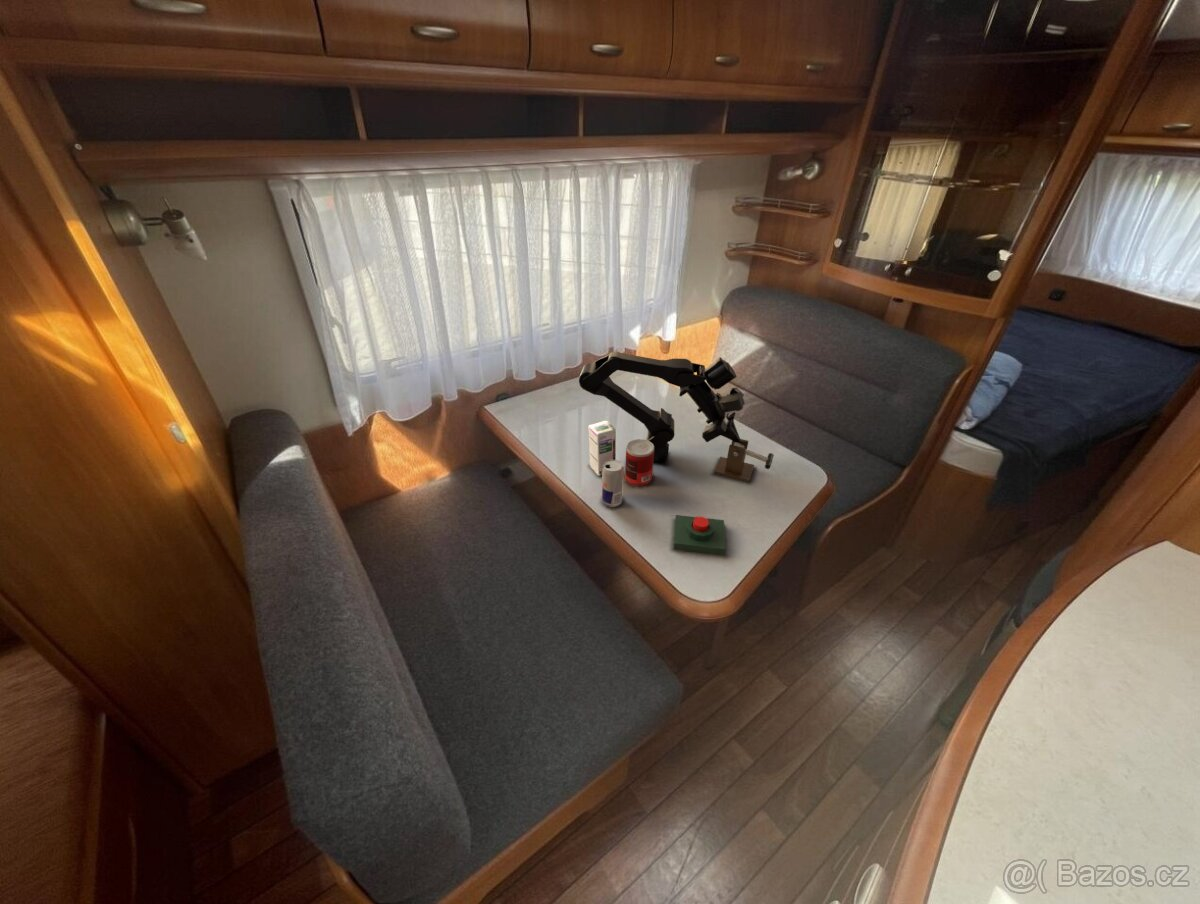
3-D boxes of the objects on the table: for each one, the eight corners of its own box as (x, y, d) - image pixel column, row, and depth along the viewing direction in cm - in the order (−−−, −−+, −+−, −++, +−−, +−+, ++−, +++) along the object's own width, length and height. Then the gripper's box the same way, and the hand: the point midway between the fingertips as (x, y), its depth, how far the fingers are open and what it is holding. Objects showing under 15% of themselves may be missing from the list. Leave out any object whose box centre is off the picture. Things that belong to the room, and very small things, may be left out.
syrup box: (598, 476, 137) (598, 434, 129) (589, 465, 142) (588, 424, 133) (615, 471, 140) (616, 429, 131) (606, 460, 144) (606, 419, 136)
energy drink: (601, 495, 131) (601, 459, 124) (620, 494, 131) (621, 458, 124) (603, 508, 126) (603, 472, 119) (623, 507, 127) (624, 471, 120)
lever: (771, 459, 136) (775, 453, 134) (768, 471, 131) (771, 464, 130) (734, 444, 138) (736, 438, 137) (729, 455, 134) (732, 449, 132)
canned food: (654, 473, 139) (657, 441, 133) (648, 489, 133) (650, 457, 126) (629, 467, 141) (630, 436, 135) (621, 484, 135) (622, 452, 128)
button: (692, 531, 114) (693, 525, 113) (692, 521, 117) (693, 515, 116) (708, 533, 114) (709, 527, 113) (707, 522, 117) (708, 517, 116)
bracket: (753, 468, 141) (759, 440, 135) (748, 483, 135) (754, 455, 129) (719, 459, 144) (724, 432, 139) (713, 474, 138) (718, 446, 133)
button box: (673, 549, 114) (674, 537, 112) (674, 521, 122) (676, 509, 120) (724, 555, 113) (726, 543, 110) (722, 526, 121) (725, 514, 118)
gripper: (720, 399, 119) (757, 446, 121) (736, 369, 133) (769, 412, 135) (686, 419, 126) (722, 463, 129) (704, 389, 140) (736, 430, 142)
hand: (738, 441), depth 133 cm, fingers closed
